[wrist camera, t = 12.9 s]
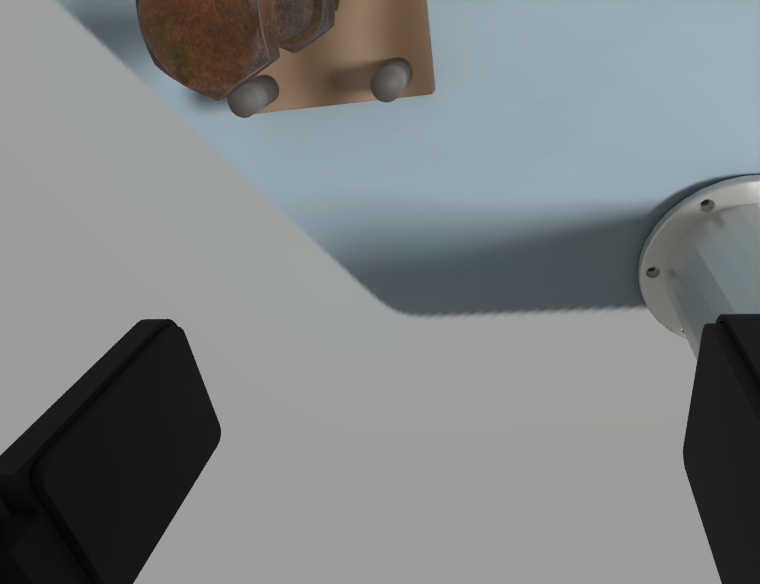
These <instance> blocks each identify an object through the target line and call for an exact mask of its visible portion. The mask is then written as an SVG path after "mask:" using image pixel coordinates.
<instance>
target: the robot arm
mask: <svg viewBox="0 0 760 584" xmlns="http://www.w3.org/2000/svg"><path fill="white" fill-rule="evenodd" d="M704 200H707V201H706V202H705V203H703V204H700V203H701V202H702V201H704ZM651 267H653V268H652V269H649V268H651ZM638 278H639V286H640V289H641V292H642V296H643V298H644V300H645V302H646V305H647V307H648V309H649V311H650V312H651V313H652V314H653V315H654V317H655V318H656V319H657V320H658V321H659V322H660V323H661V324H662V325H664V326H665V327H666V328H668V329H669V330H670V331H672V332H674V333H675V334H677V335H679V336H681V337H683V338H686V339H688V341H689V344H690V346H691V348H692V351H693V353H694V355H695V357H696V360H697V366H696V373H695V379H694V385H693V391H692V397H691V403H690V409H689V416H688V422H687V428H686V434H685V441H684V447H683V457H684V465H685V470H686V473H687V476H688V479H689V483H690V486H691V488H692V492H693V495H694V498H695V501H696V504H697V507H698V511H699V514H700V517H701V520H702V523H703V526H704V529H705V532H706V535H707V538H708V542H709V545H710V548H711V551H712V554H713V557H714V560H715V564H716V566H717V570H718V573H719V576H720V579H721V582H722V584H760V175H749V176H741V177H737V178H732V179H728V180H723V181H721V182H718V183H715V184H713V185H710V186H708V187H705V188H702V189H701V190H699V191H697V192H695V193H694V194H692V195H690V196H688V197H686V198H685V199H683V200H682V201H681V202H679V203H678V204H677V205H676V206H674V207H673V208H672V209H671V210H669V211H668V212H667V213H666V214H665V215H664V216H663V218H662V219H661V220H660V221H659V222H658V223H657V224H656V225H655V227H654V228H653V230H652V231H651V233H650V235H649V236H648V238H647V239H646V241H645V244H644V247H643V249H642V252H641V254H640V260H639V266H638ZM220 437H221V428H220V424H219V422H218V419H217V416H216V414H215V411H214V408H213V406H212V403H211V401H210V398H209V395H208V393H207V390H206V387H205V385H204V382H203V380H202V377H201V374H200V372H199V369H198V367H197V364H196V361H195V359H194V356H193V354H192V351H191V348H190V346H189V343H188V340H187V338H186V335H185V333H184V331H183V329H181V327H178V326H177V325H176V323H175V322H173V320H170V319H145V320H141V321H139V322H138V323H137V324H136V325H135V326H133V327H132V329H130V330H129V331H128V332H127V333H126V334H125V335H124V336H123V337H122V338H121V339H120V340H119V341H118V342H117V343H116V344H115V345H114V346H113V347H112V348H111V349H110V350H109V351H108V352H107V353H106V354H105V355H104V356H103V357H102V358H100V360H98V362H96V363H95V364H94V365H93V366H92V367H91V368H90V369H89V370H88V371H87V372H86V373H85V374H84V375H83V376H82V377H81V378H80V379H79V380H78V381H77V382H76V383H75V384H74V385H73V386H72V387H71V388H70V389H69V390H68V391H66V392H65V394H63V395H62V397H60V399H58V400H57V401H56V402H55V403H54V404H53V405H52V406H51V407H50V408H49V409H48V410H47V411H46V412H45V413H44V414H43V415H42V416H41V417H40V418H39V419H38V420H37V421H36V422H34V423H33V424H32V426H30V428H28V429H27V430H26V431H25V432H24V433H23V434H22V435H21V436H20V437H19V438H18V439H17V440H16V441H15V442H14V443H13V444H12V445H11V446H10V447H9V448H8V449H7V450H6V451H5V452H4V453H3V454H2V455H1V456H0V584H133V583H134V581H135V579H136V578H137V576H138V574H139V573H140V571H141V570H142V568H143V566H144V565H145V563H146V561H147V560H148V558H149V556H150V555H151V553H152V552H153V550H154V548H155V547H156V545H157V543H158V542H159V540H160V539H161V537H162V535H163V534H164V532H165V530H166V529H167V527H168V525H169V524H170V522H171V521H172V519H173V517H174V516H175V514H176V512H177V511H178V509H179V508H180V506H181V504H182V503H183V501H184V499H185V498H186V496H187V494H188V493H189V491H190V490H191V488H192V486H193V485H194V483H195V481H196V480H197V478H198V477H199V475H200V473H201V471H202V470H203V468H204V467H205V465H206V463H207V462H208V460H209V459H210V457H211V455H212V454H213V452H214V450H215V449H216V447H217V445H218V443H219V441H220Z"/></svg>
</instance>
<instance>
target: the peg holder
mask: <svg viewBox="0 0 760 584" xmlns="http://www.w3.org/2000/svg"><path fill="white" fill-rule="evenodd" d="M279 51H280V58H279V59H277V60H276V61H275V62H273V63H272V64H271V65H269V66H268V67H267V68H265V69H264V70H263V71H261V72H260V73H259V74H257V75H256V76H255V77H253V78H252V79H251V80H249V81H248V82H247V83H245V84H244V85H243V86H241V87H240V88H239V89H237V90H236V91H235V92H233V93H232V94H231V95H229V96H228V104H229V107H230V109H231V110H232V112H233V113H234V114H235V115H237V116H239V117H242V118H247V117H250V116H251V115H253V114H257V113H266V112H275V111H284V110H293V109H302V108H311V107H320V106H329V105H338V104H347V103H356V102H365V101H374V100H380V101H382V102H391V101H393V100H395V99H396V98H401V97H410V96H420V95H429V94H433V92H434V90H435V82H434V72H433V61H432V50H431V39H430V29H429V18H428V7H427V0H340V2H339V8H338V11H335V26H333V27H332V28H331V29H330V30H328V31H327V32H326V33H324V34H323V35H322V36H320V37H319V38H318V39H316V40H315V41H314V42H312V43H311V44H309V45H308V46H307V47H305V48H304V49H302V50H301V51H299V52H297V53H294V54H293V53H291V52H289V51H287V50H284V49H282V48H280V47H279Z"/></svg>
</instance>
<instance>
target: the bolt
mask: <svg viewBox="0 0 760 584" xmlns="http://www.w3.org/2000/svg"><path fill="white" fill-rule="evenodd" d="M339 2H340V0H136V7H137V15H138V20H139V25H140V29H141V33H142V36H143V39H144V41H145V44H146V47H147V49H148V51H149V53H150V55H151V58H152V60H153V62H154V64H155V65H156V66H157V67H158V68H160V69H161V70H162V71H163V72H164V73H165V74H167V75H168V76H170V77H171V78H173V79H174V80H176V81H178V82H179V83H181V84H182V85H184V86H186V87H188V88H189V89H192V90H194V91H196V92H198V93H200V94H202V95H205V96H208V97H210V98H213V99H216V100H218V101H219V100H221V99H223V98H225V97H227V96H229V95H231V94H232V93H233V92H235V91H236V90H237V89H239V88H240V87H241V86H243V85H244V84H245V83H247V82H248V81H249V80H251V79H252V78H253V77H255V76H256V75H257V74H259V73H260V72H261V71H263V70H264V69H265V68H267V67H268V66H269V65H271V64H272V63H273V62H275V61H276V60H277V59H279V58H280V51H279V47H280V48H282V49H284V50H287V51H289V52H291V53H293V54H294V53H297V52H299V51H301V50H302V49H304V48H305V47H307V46H308V45H309V44H311V43H312V42H314V41H315V40H316V39H318V38H319V37H320V36H322V35H323V34H324V33H326V32H327V31H328V30H330V29H331V28H332V27H333V26H335V11H338V8H339Z"/></svg>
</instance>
